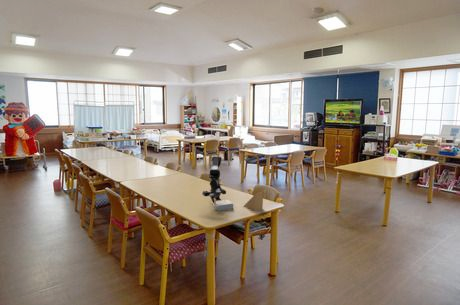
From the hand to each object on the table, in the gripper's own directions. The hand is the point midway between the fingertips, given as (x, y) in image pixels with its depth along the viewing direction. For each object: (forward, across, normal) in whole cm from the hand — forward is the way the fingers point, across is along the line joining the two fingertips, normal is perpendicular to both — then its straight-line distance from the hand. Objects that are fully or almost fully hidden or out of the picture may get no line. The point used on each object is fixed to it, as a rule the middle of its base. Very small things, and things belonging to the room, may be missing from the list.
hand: (214, 202), depth 248 cm
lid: (+1, +7, 0) cm, 7 cm away
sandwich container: (+6, +32, -8) cm, 33 cm away
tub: (+6, +8, 0) cm, 10 cm away
